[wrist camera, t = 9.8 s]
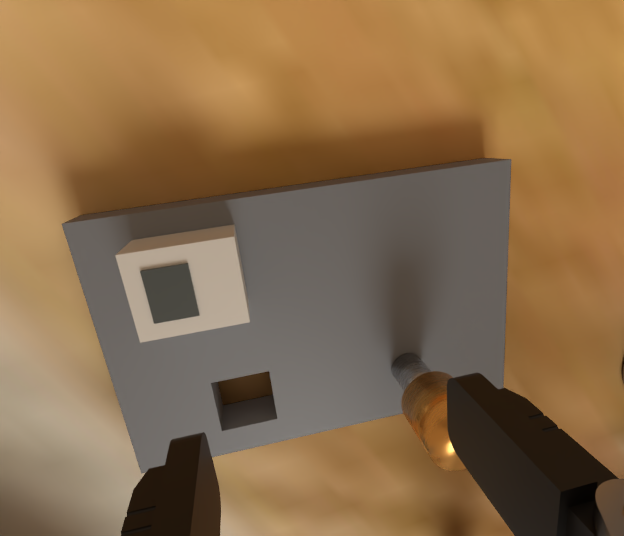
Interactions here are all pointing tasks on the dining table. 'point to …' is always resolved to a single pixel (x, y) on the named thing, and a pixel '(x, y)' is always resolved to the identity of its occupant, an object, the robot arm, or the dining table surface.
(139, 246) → the white boxy piece
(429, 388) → the orange rounded piece
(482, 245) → the board
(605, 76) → the dining table surface
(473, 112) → the dining table surface
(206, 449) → the robot arm
